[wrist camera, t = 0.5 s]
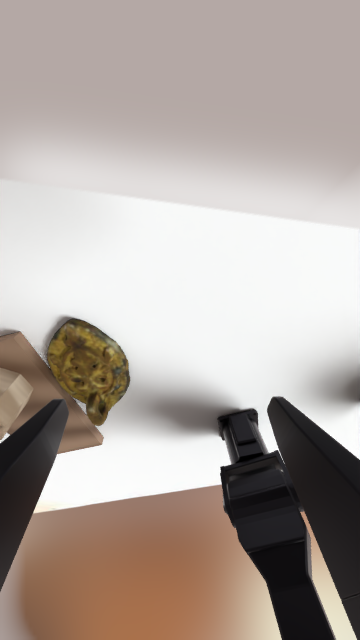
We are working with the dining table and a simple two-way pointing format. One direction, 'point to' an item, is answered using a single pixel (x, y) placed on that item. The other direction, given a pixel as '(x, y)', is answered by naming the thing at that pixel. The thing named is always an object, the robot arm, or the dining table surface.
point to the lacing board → (45, 393)
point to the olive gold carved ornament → (89, 367)
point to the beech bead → (12, 398)
